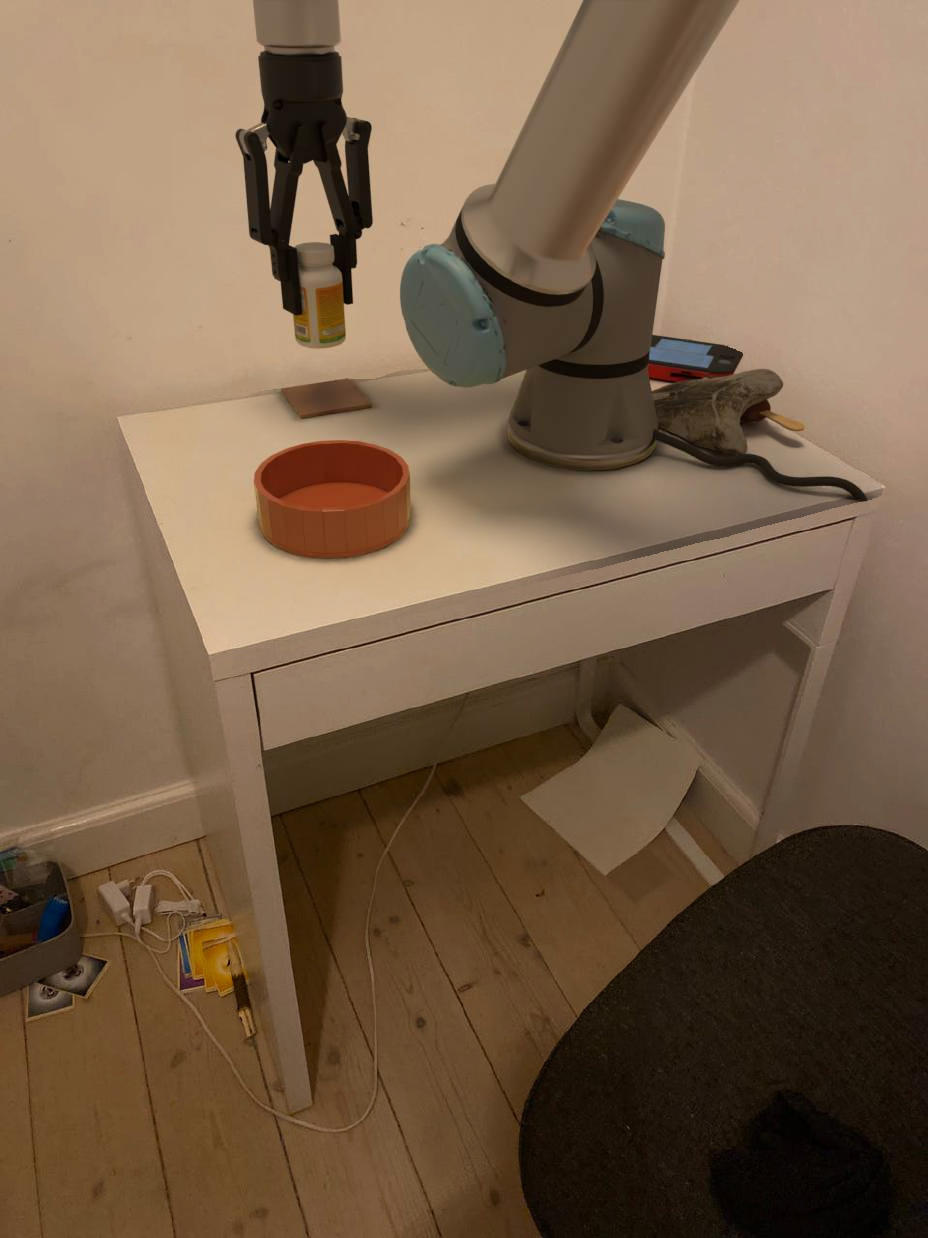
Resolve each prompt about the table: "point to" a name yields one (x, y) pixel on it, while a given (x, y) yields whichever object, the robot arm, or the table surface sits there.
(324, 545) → the terracotta planter dish
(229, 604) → the table surface
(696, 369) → the game console
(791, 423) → the ice cream bar
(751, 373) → the fossil
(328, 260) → the supplement bottle
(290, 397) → the coaster
